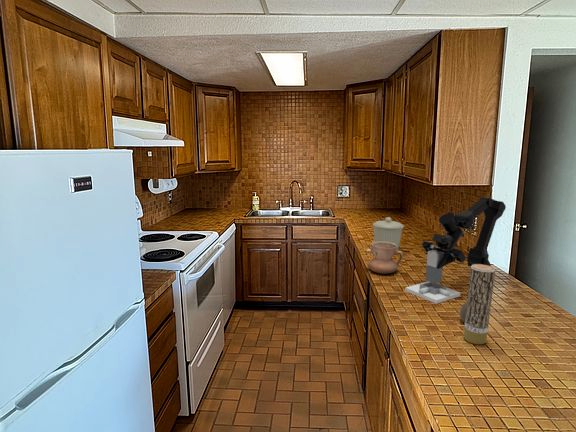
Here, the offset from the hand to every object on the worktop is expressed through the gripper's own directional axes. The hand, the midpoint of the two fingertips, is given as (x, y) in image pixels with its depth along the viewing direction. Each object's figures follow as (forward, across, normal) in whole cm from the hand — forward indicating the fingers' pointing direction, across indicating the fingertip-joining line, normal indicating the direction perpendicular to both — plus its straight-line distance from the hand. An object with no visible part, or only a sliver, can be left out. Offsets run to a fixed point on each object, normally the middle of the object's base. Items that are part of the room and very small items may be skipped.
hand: (432, 266), depth 162 cm
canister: (-15, -58, +33) cm, 68 cm away
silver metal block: (+4, 0, +6) cm, 7 cm away
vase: (+16, +25, +1) cm, 30 cm away
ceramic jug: (+6, -32, +12) cm, 34 cm away
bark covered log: (+24, +34, -6) cm, 41 cm away
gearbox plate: (+8, 0, +10) cm, 12 cm away
